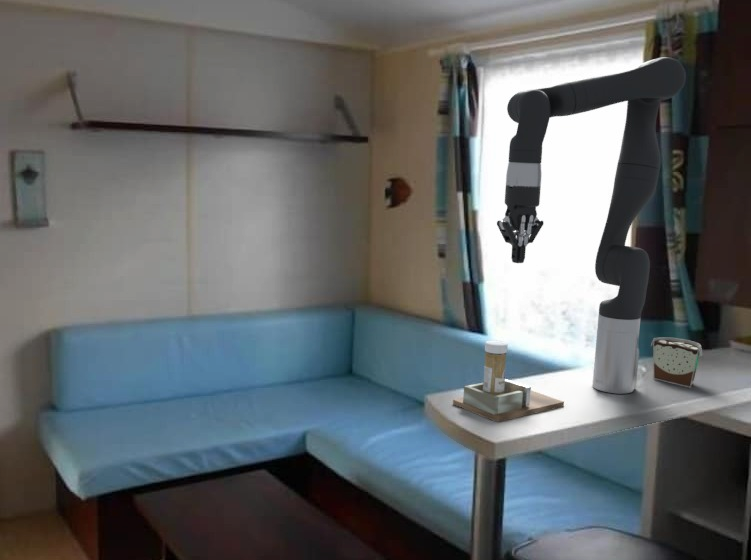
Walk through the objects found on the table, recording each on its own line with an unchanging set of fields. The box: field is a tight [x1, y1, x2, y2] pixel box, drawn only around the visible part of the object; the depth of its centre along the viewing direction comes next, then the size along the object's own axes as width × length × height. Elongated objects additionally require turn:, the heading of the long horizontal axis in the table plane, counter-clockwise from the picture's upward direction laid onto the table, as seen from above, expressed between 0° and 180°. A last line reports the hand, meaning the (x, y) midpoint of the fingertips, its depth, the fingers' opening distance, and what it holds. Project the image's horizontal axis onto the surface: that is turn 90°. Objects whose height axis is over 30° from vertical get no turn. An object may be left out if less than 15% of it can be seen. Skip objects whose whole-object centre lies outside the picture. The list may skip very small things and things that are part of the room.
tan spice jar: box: [482, 339, 508, 396], centre depth 162 cm, size 5×5×13 cm
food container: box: [650, 336, 703, 389], centre depth 191 cm, size 12×6×10 cm, turn 44°
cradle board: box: [452, 382, 565, 423], centre depth 167 cm, size 20×13×4 cm, turn 127°
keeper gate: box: [504, 378, 532, 406], centre depth 166 cm, size 11×2×4 cm, turn 41°
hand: (517, 262), depth 174 cm, fingers closed
